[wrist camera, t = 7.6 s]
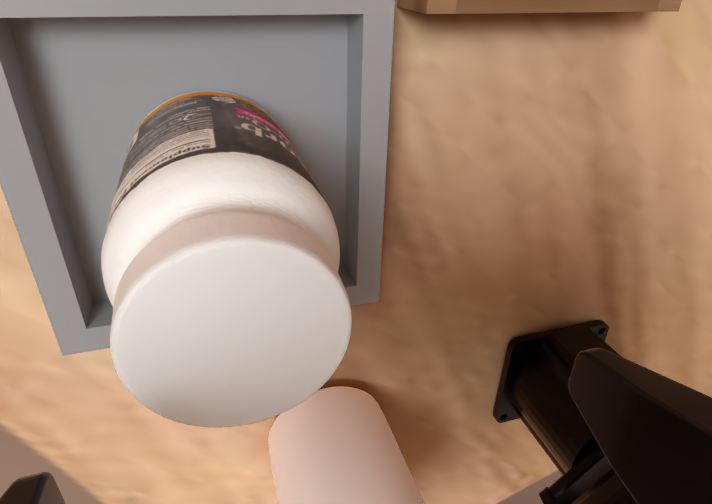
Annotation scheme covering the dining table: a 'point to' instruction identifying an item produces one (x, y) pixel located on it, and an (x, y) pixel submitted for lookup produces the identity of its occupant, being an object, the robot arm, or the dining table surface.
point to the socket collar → (536, 6)
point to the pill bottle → (221, 267)
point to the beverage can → (338, 453)
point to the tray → (167, 80)
